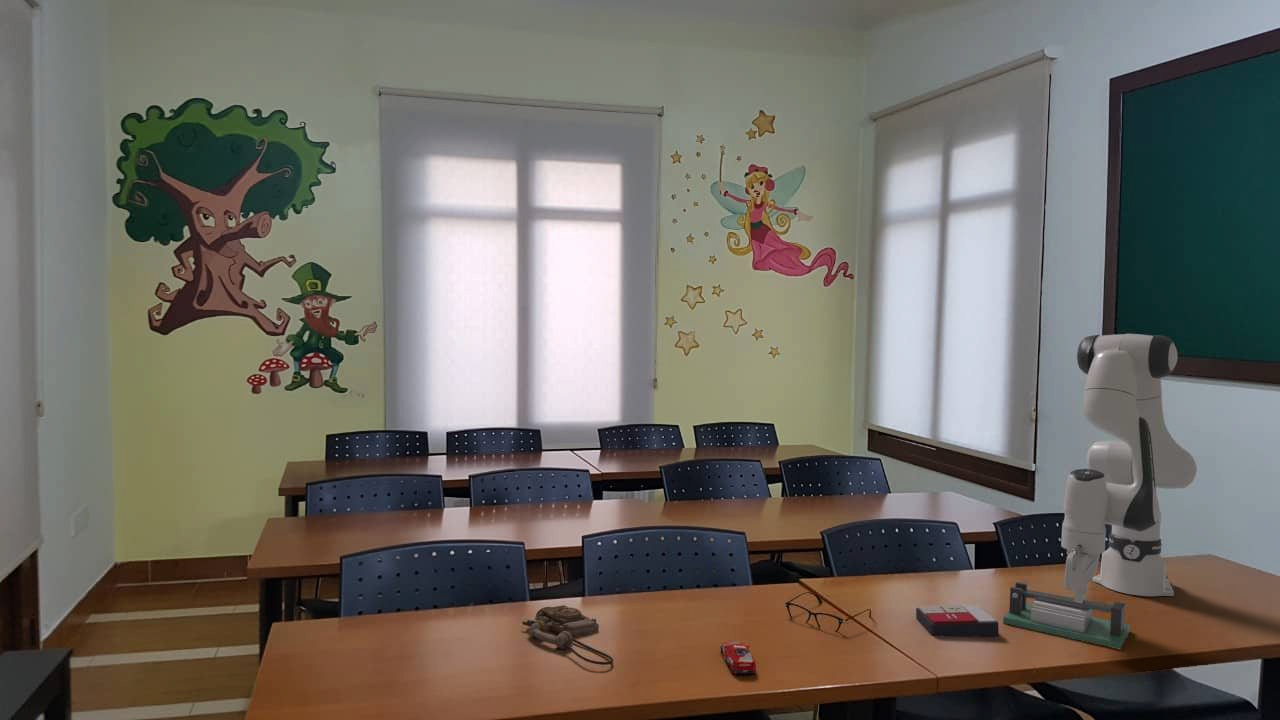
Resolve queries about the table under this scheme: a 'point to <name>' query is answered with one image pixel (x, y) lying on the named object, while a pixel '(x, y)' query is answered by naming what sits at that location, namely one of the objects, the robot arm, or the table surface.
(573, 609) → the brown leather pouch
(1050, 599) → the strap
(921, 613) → the black and red box
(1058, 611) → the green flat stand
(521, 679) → the table surface
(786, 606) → the eyeglasses
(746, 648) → the race car
